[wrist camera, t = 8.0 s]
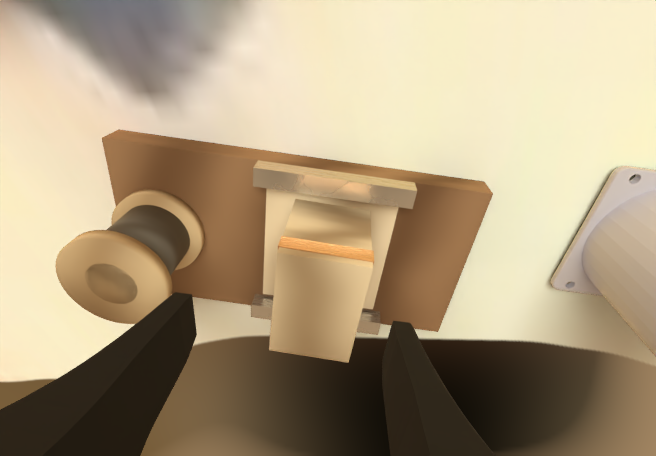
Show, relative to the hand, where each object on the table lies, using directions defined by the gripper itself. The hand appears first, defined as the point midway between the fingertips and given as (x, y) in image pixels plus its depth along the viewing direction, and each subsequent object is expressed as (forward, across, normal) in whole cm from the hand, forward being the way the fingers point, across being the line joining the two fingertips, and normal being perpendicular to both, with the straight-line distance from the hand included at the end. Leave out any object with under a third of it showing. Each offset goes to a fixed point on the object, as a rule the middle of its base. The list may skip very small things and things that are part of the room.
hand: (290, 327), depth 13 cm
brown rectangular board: (+9, +1, +2) cm, 10 cm away
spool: (+8, +9, +2) cm, 12 cm away
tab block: (+8, -1, +2) cm, 8 cm away
